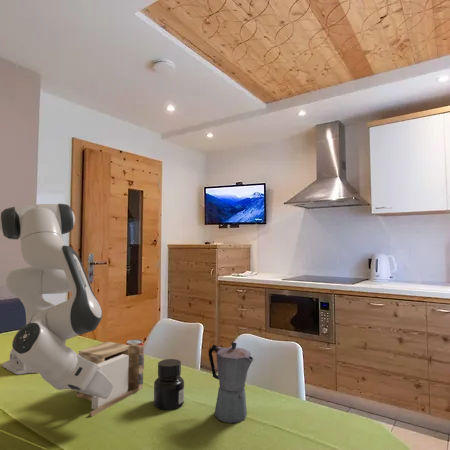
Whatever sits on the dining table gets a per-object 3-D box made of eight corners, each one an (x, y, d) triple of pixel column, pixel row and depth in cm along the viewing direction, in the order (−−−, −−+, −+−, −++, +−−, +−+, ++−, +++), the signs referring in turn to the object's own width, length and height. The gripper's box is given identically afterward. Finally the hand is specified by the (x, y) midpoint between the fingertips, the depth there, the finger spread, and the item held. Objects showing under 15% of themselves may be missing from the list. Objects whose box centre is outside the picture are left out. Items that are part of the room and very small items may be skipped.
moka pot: (245, 431, 85) (245, 350, 86) (196, 415, 93) (197, 341, 94) (261, 415, 93) (261, 341, 94) (215, 401, 101) (216, 334, 102)
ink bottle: (188, 407, 97) (189, 365, 98) (158, 414, 93) (159, 370, 94) (177, 394, 106) (178, 355, 107) (150, 400, 102) (150, 359, 103)
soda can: (138, 379, 118) (139, 344, 119) (120, 377, 119) (120, 343, 120) (146, 372, 125) (147, 339, 126) (129, 370, 126) (130, 338, 127)
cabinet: (56, 406, 97) (58, 357, 98) (110, 381, 116) (112, 340, 117) (95, 418, 91) (96, 365, 92) (145, 389, 109) (146, 346, 110)
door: (91, 408, 96) (93, 365, 97) (121, 392, 107) (122, 354, 107) (100, 411, 94) (101, 367, 95) (130, 394, 105) (131, 355, 106)
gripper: (31, 374, 89) (62, 398, 97) (85, 389, 80) (114, 413, 88) (47, 353, 94) (75, 377, 102) (100, 364, 85) (127, 389, 93)
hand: (94, 394), depth 95 cm, fingers closed, pressing on door
